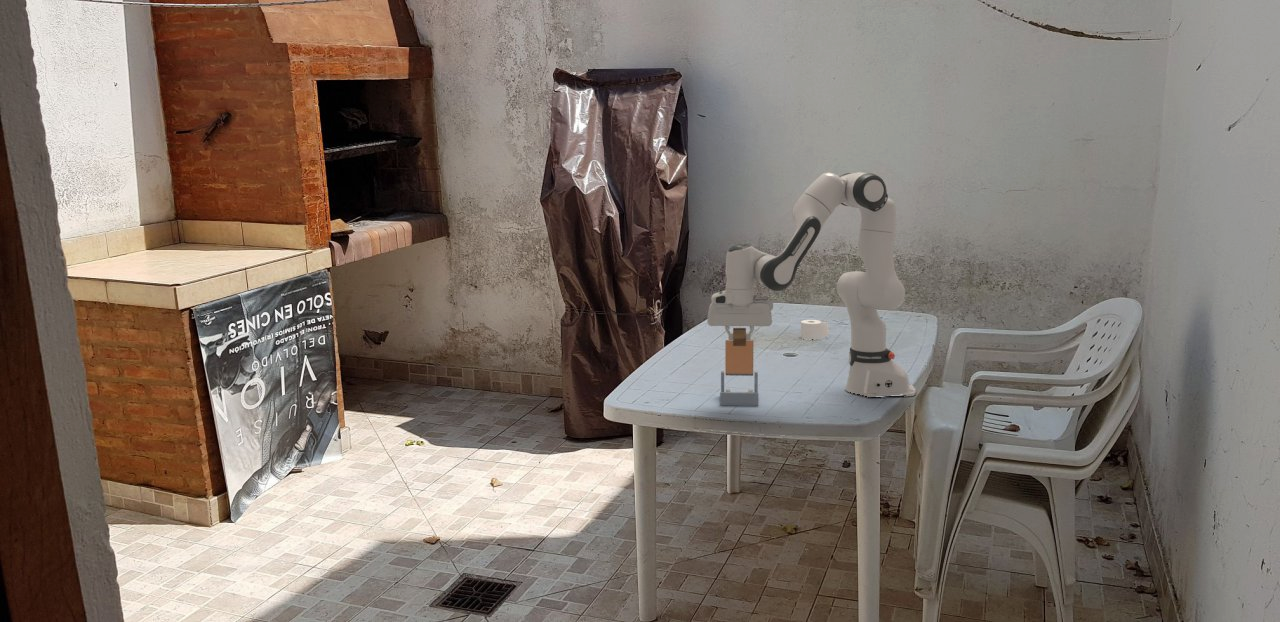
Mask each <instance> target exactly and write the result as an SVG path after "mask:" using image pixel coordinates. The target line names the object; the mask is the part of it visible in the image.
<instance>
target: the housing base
mask: <svg viewBox="0 0 1280 622" xmlns="http://www.w3.org/2000/svg"><path fill="white" fill-rule="evenodd" d="M758 373H759V372H758V371H754V380H753V381H754V386H753V387H754V389H752V388H751V389H750V388H749V389H748V391H731V389H729V388H726V389H725V370H724V371H723V370H722V371H721V372H720V392H719V396H720V397H719V405H720V406H748V407H749V406H750V407H751V406H752V407H753V406H759V391H758V389H759V387H758V386H759V384H758V383H759V382H758V380H759V379H758V377H759V375H758Z"/></svg>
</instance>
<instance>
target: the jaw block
mask: <svg viewBox="0 0 1280 622" xmlns="http://www.w3.org/2000/svg"><path fill="white" fill-rule="evenodd" d="M732 333H733V346H746V334H747V328H746V327H733V328H732Z"/></svg>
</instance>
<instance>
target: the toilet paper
mask: <svg viewBox="0 0 1280 622" xmlns="http://www.w3.org/2000/svg"><path fill="white" fill-rule="evenodd" d="M828 335H830V331H829V325H828V322H827V321H825V322H822V321H821V320H817V319H804V320H801V321H800V338H801V337H802V338H805V339H819V338H822V337H825V336H828Z"/></svg>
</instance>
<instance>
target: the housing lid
mask: <svg viewBox="0 0 1280 622" xmlns="http://www.w3.org/2000/svg"><path fill="white" fill-rule="evenodd" d="M724 357H725V358H724V360H725V365H724V366H725V370H724V375H725V376H735V377H737V376H741V377H742V376H743V377H744V376H748V377H752V376H754V339H753V340H752V339H751V340H746V346H733V340H729V339H728V340H727V339H725V356H724Z"/></svg>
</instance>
